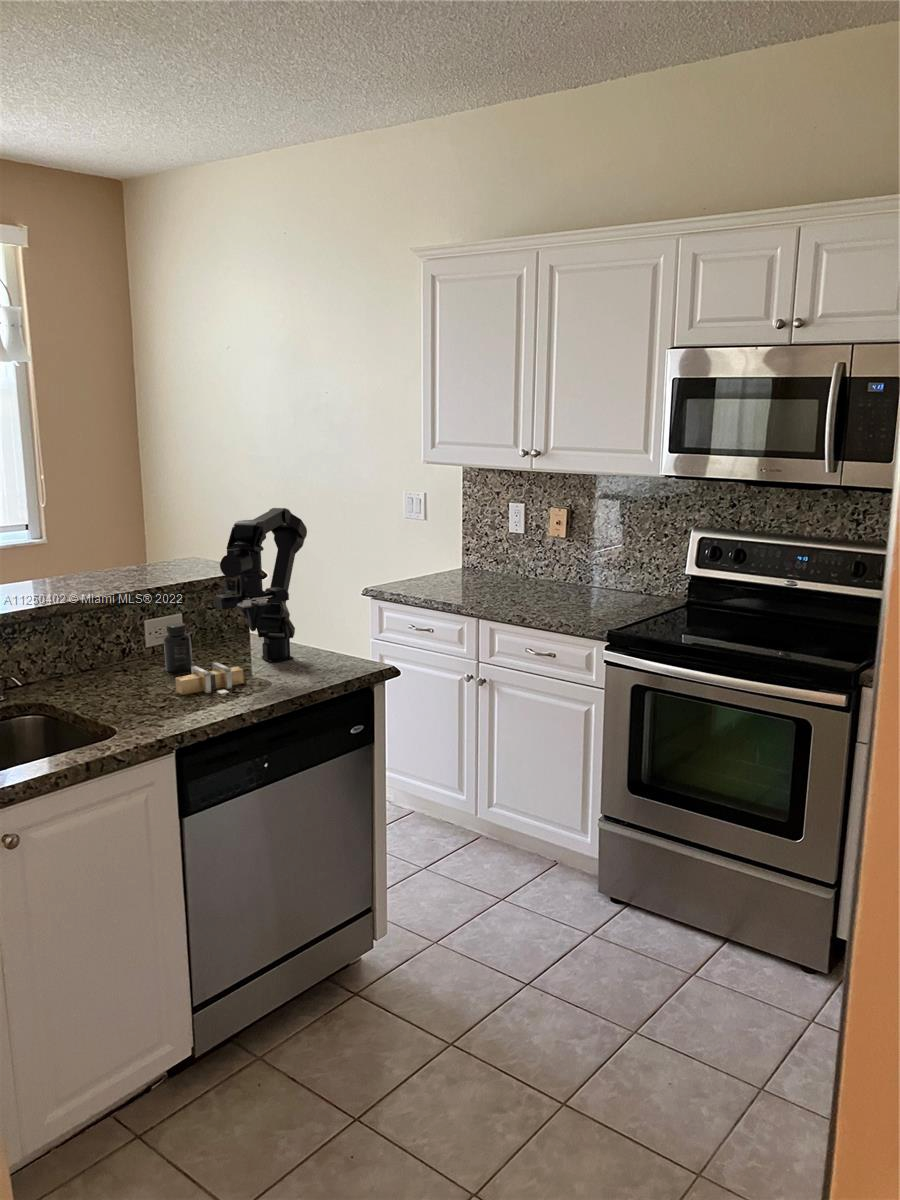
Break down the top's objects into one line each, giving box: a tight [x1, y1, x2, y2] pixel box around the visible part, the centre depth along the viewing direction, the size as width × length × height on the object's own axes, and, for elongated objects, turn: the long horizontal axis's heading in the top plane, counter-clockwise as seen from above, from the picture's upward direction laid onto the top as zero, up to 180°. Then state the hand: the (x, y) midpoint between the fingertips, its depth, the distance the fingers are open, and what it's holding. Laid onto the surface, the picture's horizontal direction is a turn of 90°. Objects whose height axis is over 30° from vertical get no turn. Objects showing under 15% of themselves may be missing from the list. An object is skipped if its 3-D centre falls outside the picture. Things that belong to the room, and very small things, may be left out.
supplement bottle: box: [163, 622, 194, 673], centre depth 250 cm, size 7×7×12 cm
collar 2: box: [211, 661, 233, 690], centre depth 237 cm, size 1×8×5 cm, turn 39°
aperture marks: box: [216, 688, 229, 695], centre depth 235 cm, size 2×14×1 cm, turn 39°
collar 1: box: [190, 665, 212, 694], centre depth 233 cm, size 1×8×5 cm, turn 39°
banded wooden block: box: [174, 666, 245, 696], centre depth 235 cm, size 16×4×4 cm, turn 127°
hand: (252, 630), depth 246 cm, fingers closed
